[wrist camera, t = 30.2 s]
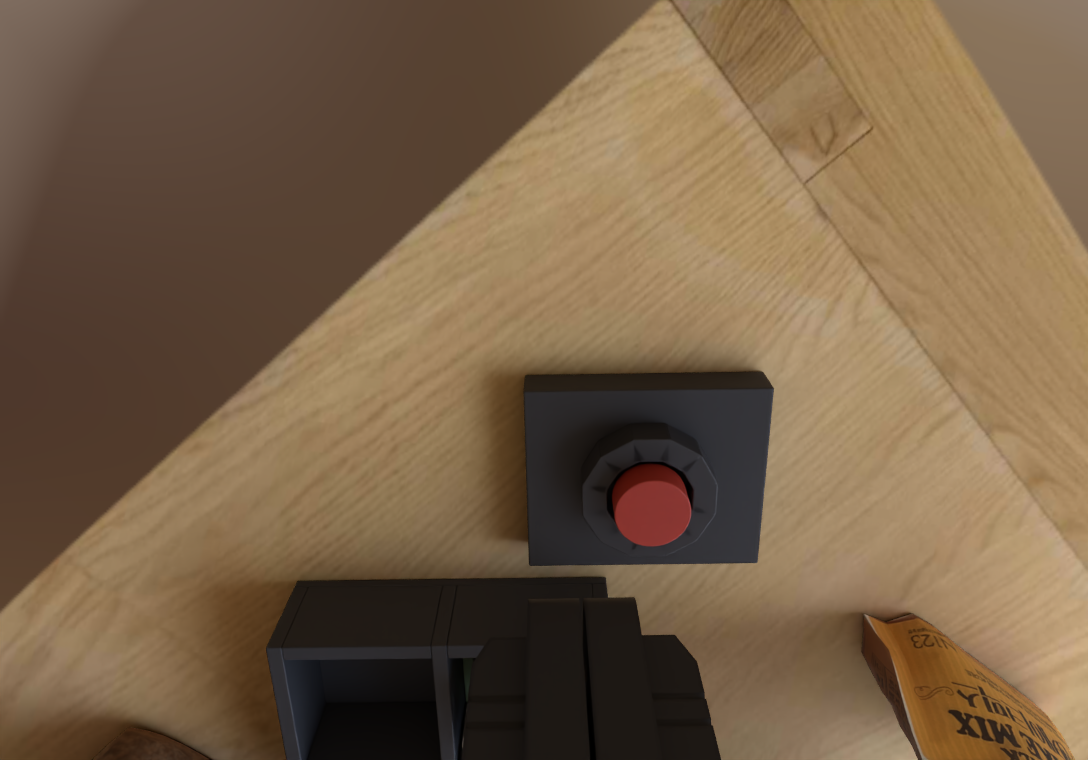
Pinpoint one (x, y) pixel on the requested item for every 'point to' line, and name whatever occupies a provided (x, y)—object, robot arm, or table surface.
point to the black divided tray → (393, 660)
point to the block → (645, 437)
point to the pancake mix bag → (954, 698)
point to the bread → (146, 748)
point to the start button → (651, 505)
